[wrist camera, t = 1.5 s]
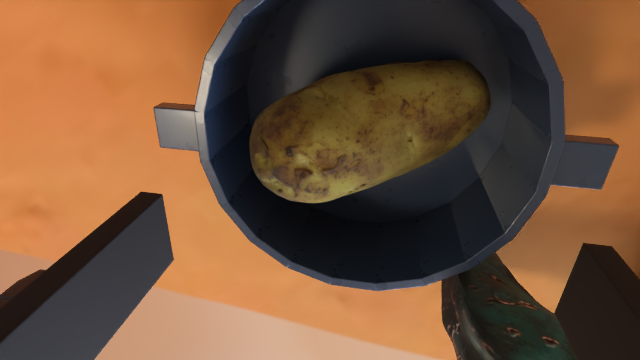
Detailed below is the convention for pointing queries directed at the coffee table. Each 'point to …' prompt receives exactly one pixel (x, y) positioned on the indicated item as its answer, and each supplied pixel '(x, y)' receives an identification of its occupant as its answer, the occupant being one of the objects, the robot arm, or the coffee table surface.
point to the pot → (410, 188)
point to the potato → (365, 127)
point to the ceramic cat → (499, 317)
